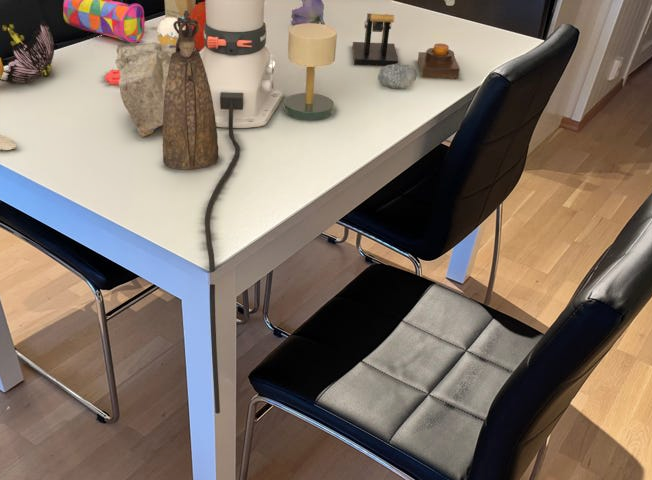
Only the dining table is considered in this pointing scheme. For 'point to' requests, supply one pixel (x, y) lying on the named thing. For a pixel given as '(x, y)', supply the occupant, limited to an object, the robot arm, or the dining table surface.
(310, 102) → the lamp
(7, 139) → the arrowhead
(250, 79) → the robot arm
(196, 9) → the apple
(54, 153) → the dining table surface
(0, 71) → the potato
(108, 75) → the building block
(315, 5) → the flower
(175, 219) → the dining table surface
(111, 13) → the pencil case
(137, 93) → the stone
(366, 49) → the switch bracket
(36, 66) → the decorative flower
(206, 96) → the statue
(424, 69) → the button block
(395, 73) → the grey rock
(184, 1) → the cosmetic box
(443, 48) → the button
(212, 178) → the dining table surface
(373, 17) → the switch lever
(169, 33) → the ornament
